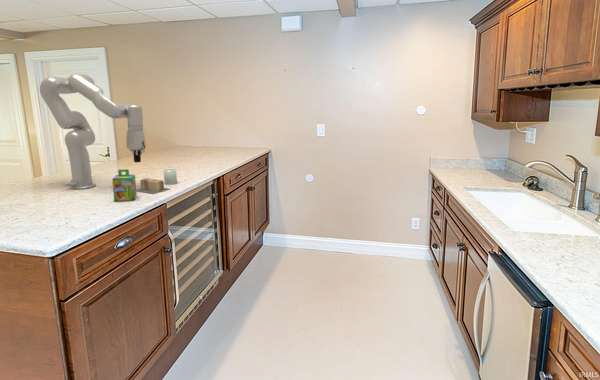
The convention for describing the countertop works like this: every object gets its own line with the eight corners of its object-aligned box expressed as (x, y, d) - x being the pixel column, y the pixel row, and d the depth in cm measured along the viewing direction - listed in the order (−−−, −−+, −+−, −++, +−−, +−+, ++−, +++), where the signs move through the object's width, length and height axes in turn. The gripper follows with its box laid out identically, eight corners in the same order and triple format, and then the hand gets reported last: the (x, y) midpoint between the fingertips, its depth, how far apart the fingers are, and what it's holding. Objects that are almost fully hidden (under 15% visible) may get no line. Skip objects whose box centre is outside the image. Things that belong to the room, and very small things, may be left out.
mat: (153, 194, 196) (153, 193, 196) (134, 191, 202) (134, 190, 202) (170, 189, 206) (170, 188, 206) (151, 186, 212) (151, 185, 212)
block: (141, 188, 205) (156, 191, 200) (140, 179, 204) (156, 182, 199) (148, 186, 210) (164, 189, 204) (147, 178, 208) (163, 180, 203)
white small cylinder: (170, 185, 216) (169, 171, 214) (162, 183, 219) (160, 170, 217) (179, 182, 222) (178, 169, 220) (170, 181, 225) (169, 168, 223)
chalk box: (114, 202, 181) (110, 172, 177) (117, 197, 189) (114, 168, 186) (134, 200, 183) (131, 171, 180) (137, 196, 192) (134, 167, 188)
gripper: (120, 127, 201) (122, 161, 205) (139, 130, 194) (141, 164, 199) (131, 126, 207) (133, 159, 212) (151, 129, 201) (152, 162, 205)
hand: (137, 161), depth 205 cm, fingers closed
